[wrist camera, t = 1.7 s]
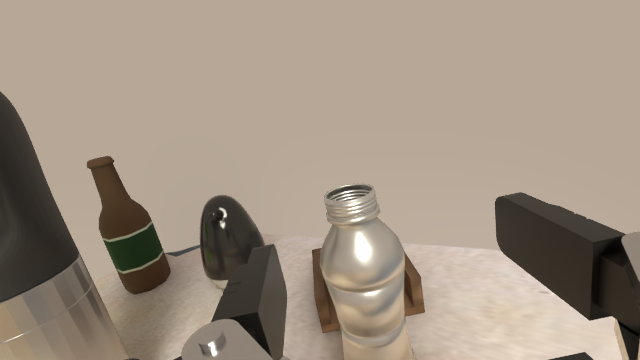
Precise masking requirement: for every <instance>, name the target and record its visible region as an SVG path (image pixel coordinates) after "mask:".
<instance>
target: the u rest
mask: <svg viewBox="0 0 640 360" xmlns="http://www.w3.org/2000/svg"><path fill="white" fill-rule="evenodd" d="M321 249H322V248H319V249H315V250H312V255H313V273H314V291H315V301H316V305H317V309H318V313H319V317H320V322H321V326H322V330H323V333H325V332H330V331H335V330H340V329H341V328H340V325H339V320H338V317H337V313H336V310H335V306H334V303H333V300H332V298H331V295H330V293H329V290H328V288H327V285H326V282H325V279H324V277H323V274H322V271H321V267H320V255H321ZM404 259H405V266H404V267H405V271H404V311H405V316H409V315H414V314H419V313H424V312H425V310H424V302H423V293H422V285H421V277H420V275H419V273H418V272H417V270H416V269H415V267H414V266H413V264H412V263H411V261H410V259H409V258H408V256H407V255H406V253H405V252H404Z"/></svg>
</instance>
